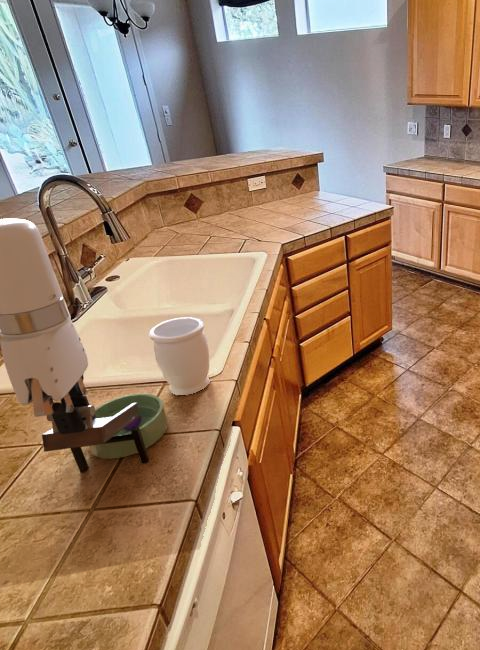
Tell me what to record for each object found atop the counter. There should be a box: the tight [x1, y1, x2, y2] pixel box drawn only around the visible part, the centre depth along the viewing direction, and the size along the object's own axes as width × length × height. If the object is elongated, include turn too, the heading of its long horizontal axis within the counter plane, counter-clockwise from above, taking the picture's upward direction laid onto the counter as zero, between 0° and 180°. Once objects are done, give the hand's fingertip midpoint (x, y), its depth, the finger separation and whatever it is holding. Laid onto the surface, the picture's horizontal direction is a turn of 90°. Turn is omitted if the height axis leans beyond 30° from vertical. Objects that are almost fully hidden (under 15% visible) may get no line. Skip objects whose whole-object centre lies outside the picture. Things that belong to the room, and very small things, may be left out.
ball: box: [124, 414, 141, 430], centre depth 83 cm, size 4×4×4 cm
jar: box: [148, 316, 211, 396], centre depth 94 cm, size 11×10×15 cm
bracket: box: [69, 426, 150, 474], centre depth 74 cm, size 11×1×8 cm, turn 103°
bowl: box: [86, 392, 169, 460], centre depth 81 cm, size 13×13×5 cm
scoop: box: [41, 403, 139, 453], centre depth 70 cm, size 8×14×6 cm, turn 13°
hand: (77, 424), depth 64 cm, fingers closed on scoop, 2 cm apart
